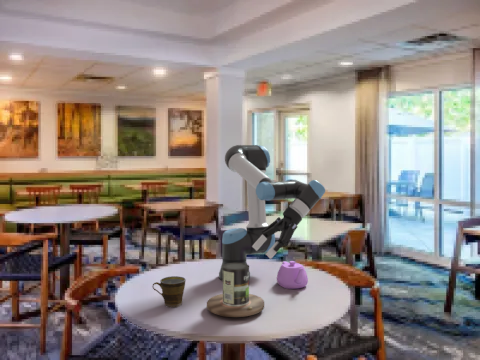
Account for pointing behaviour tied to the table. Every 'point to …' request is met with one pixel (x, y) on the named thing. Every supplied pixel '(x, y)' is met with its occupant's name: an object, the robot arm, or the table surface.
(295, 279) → the teapot
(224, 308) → the turntable
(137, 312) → the table surface
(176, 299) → the ceramic cup
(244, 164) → the robot arm
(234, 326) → the table surface
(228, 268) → the coffee can
